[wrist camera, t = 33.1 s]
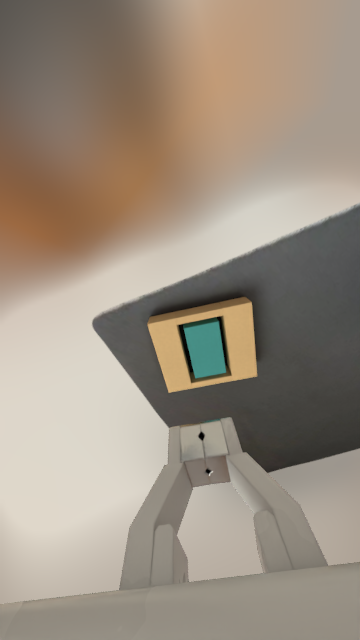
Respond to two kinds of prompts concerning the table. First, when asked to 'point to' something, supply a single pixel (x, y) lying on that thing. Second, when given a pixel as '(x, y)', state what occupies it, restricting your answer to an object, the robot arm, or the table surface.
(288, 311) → the table surface
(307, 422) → the table surface
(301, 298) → the table surface
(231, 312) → the wooden slot frame
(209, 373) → the teal block
